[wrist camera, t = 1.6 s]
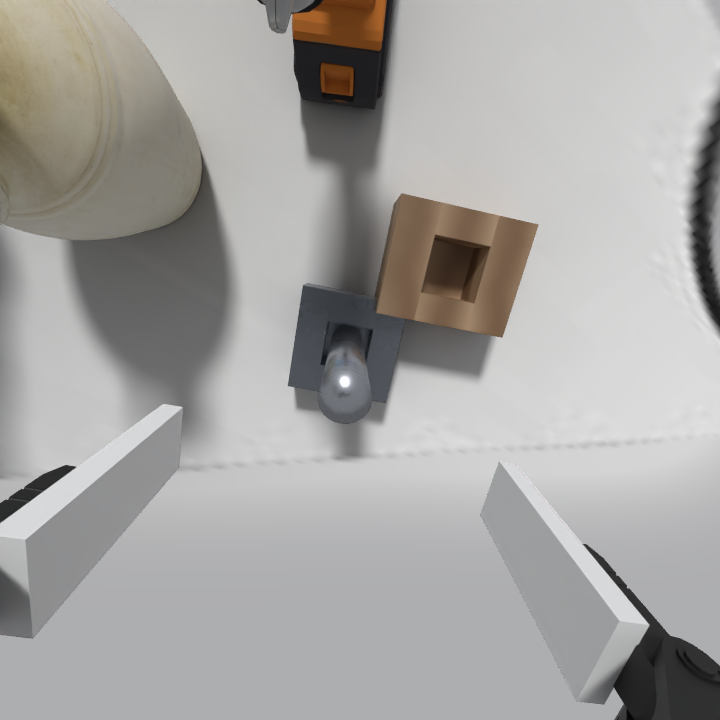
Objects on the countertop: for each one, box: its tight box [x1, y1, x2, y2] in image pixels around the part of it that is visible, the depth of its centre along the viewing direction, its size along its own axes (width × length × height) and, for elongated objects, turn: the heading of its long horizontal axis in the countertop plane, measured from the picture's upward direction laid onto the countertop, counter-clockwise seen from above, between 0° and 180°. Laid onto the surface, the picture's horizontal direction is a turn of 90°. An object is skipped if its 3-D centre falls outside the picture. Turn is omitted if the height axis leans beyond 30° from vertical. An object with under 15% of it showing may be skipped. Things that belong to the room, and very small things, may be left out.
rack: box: [375, 194, 538, 337], centre depth 32 cm, size 12×10×5 cm
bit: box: [318, 326, 372, 424], centre depth 28 cm, size 3×3×16 cm
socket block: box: [288, 283, 405, 403], centre depth 34 cm, size 10×10×4 cm
